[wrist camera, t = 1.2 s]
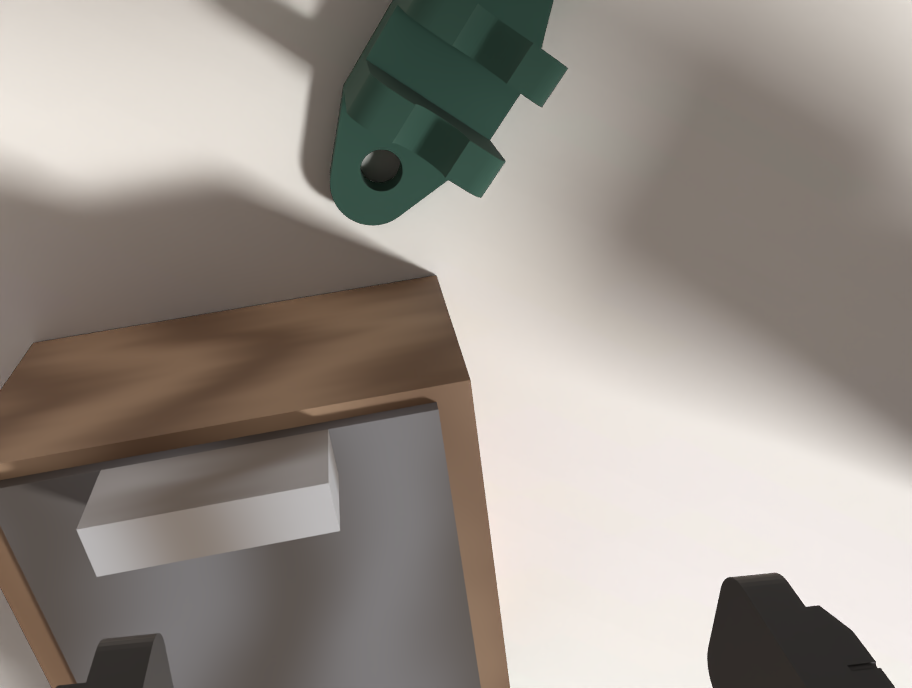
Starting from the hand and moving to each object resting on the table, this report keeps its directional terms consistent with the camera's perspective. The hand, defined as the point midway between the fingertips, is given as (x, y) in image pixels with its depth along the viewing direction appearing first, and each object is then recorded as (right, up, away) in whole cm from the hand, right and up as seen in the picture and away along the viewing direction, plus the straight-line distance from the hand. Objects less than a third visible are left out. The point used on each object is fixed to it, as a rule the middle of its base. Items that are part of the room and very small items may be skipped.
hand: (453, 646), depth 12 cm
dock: (-7, -2, +21) cm, 22 cm away
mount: (-1, +13, +14) cm, 20 cm away
